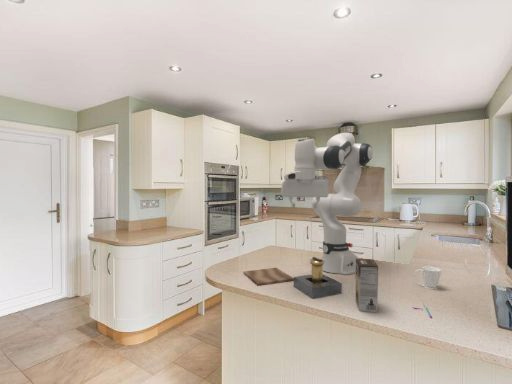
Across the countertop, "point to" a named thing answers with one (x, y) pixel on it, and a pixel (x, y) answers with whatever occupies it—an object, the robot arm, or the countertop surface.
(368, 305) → the coffee box
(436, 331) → the countertop surface
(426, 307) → the squeegee
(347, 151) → the robot arm
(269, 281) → the walnut board
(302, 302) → the countertop surface
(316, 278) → the brass peg
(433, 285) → the cup
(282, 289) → the countertop surface
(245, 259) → the countertop surface
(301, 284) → the metal socket
